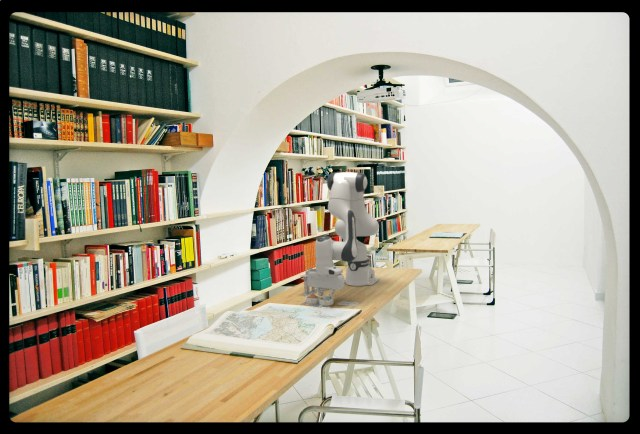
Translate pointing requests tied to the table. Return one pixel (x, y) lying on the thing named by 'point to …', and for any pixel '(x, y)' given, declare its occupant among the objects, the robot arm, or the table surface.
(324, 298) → the ball bluegrey
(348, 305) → the grey mat
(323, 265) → the robot arm
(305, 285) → the test tube rack
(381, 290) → the table surface
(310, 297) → the ball terracotta
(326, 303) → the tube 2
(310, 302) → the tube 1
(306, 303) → the card
